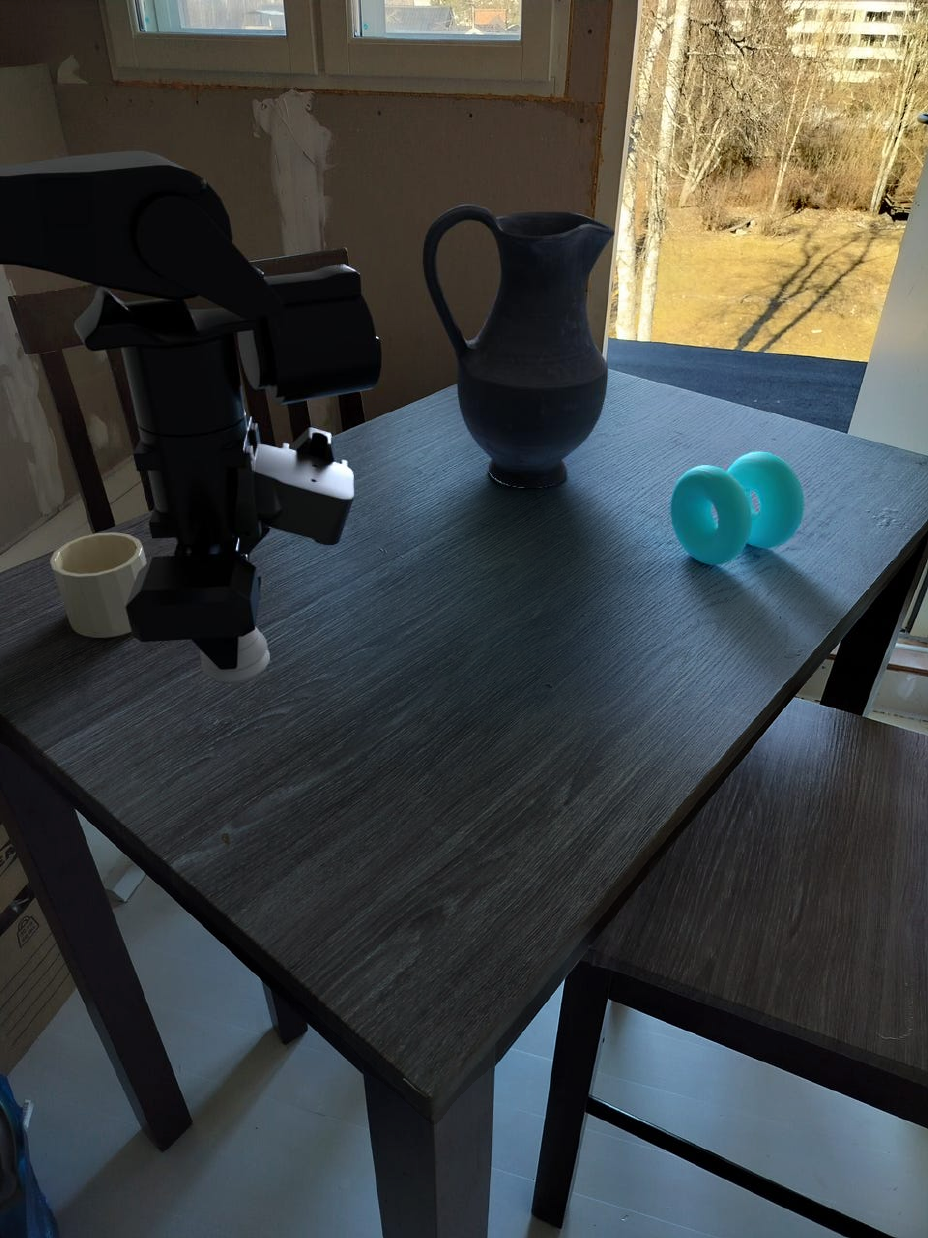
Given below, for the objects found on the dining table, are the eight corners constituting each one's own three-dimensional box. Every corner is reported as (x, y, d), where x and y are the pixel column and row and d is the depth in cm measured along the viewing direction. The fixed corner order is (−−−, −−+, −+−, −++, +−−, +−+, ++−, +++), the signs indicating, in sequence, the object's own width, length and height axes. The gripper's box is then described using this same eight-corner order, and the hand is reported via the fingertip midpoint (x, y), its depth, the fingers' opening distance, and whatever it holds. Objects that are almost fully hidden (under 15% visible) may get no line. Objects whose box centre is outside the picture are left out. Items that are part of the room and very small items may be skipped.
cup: (60, 641, 75) (40, 579, 72) (80, 594, 81) (62, 535, 78) (149, 634, 76) (133, 573, 72) (162, 588, 82) (148, 529, 79)
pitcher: (614, 500, 98) (648, 216, 81) (436, 512, 95) (431, 222, 78) (575, 440, 112) (597, 187, 95) (419, 449, 109) (411, 191, 92)
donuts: (658, 540, 90) (671, 453, 85) (728, 519, 94) (746, 434, 89) (723, 585, 83) (743, 493, 78) (797, 560, 87) (821, 471, 81)
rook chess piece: (261, 639, 59) (246, 538, 54) (278, 676, 55) (263, 571, 51) (196, 655, 57) (174, 552, 52) (209, 694, 54) (187, 588, 49)
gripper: (340, 486, 40) (359, 735, 48) (341, 358, 55) (355, 566, 64) (92, 495, 38) (158, 749, 47) (163, 362, 54) (203, 573, 63)
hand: (232, 646), depth 55 cm, fingers closed on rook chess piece, 4 cm apart
